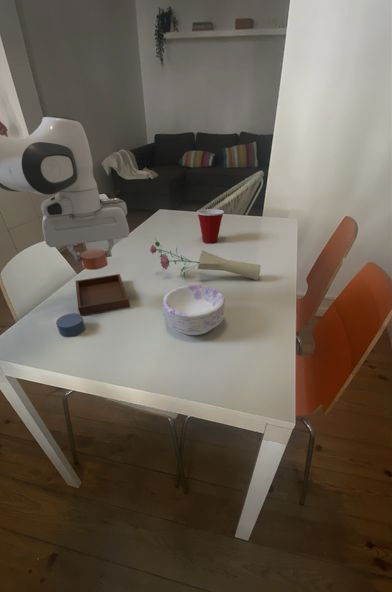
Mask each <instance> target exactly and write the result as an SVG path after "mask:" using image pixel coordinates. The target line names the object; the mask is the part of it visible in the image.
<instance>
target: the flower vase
mask: <svg viewBox="0 0 392 592" xmlns="http://www.w3.org/2000/svg"><path fill="white" fill-rule="evenodd" d="M154 240H155V242H154V243H155V245H154V244H151V246H150V248H149V252H150V253H151V255H154V254H156V252H157V251H158V253H159V254H160V255H159V260H160V262H159V263H160V264H161V267H162V268H163V269H164V270H168V268H171V267H170V262H171V260H169V258H168V255H167V253H168V254H170V256H171V258H175V259H174V260H172V262H173V263H174V264H175V265H177V262H181V263H182V262H183V263H184V264H183V265H184V266H183V267H182V269H181V270H180V274H179V275H181V274H182V273H183V278H184V279H186V274H187V272H189V271H192V270H193V268H194V267H196V266H197V270H208V271H221V272H223V271H224V272H228V273H232V274H235V275H238V276H241V277H246V278H250V279H252V280H255V281H257V280H258V279H259V276H260V274H261V268H262V267H261V264H257V263H250V262H243V261H237V260H231V259H230V260H229V259H226V258H224V257H220V256H218V255H215V254H213V253H211V252H208V251H206V250H203V249H202V250H201V252H200V254H199V261H195V260H194V261H192V260H190V259H188V258H187V257H185V256H183V255H182V254H180V256H179V255H178V252H177V251H178V247H176V248H175V252H176V254H174V253H172V249H170V250H169V251H167V250H163V248H162V247H163V246H162V245H161V243H160V242H159V241H157V238H156V237H154ZM157 247H158V248H157ZM159 247H161V249H160V248H159ZM164 252H166V253H164ZM187 263H189V264H190V263H196V265H192V266H190V269H188V264H187ZM185 265H186V267H185ZM191 267H193V268H191ZM187 269H188V270H187Z"/></svg>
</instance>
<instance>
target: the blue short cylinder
mask: <svg viewBox="0 0 392 592" xmlns="http://www.w3.org/2000/svg"><path fill="white" fill-rule="evenodd" d="M55 324H56V327H57V330H58V332H59V335H61V337H64V338H73V337H76V336H79V335H81V334H82V333H84V332H85V330H86V324H85V321H84V318H83V316H81V315H80V313H77V312H76V313H75V312H74V313H73V312H72V313H67V314H63V315H62V316H60V317H58V318H57V319H56V322H55Z"/></svg>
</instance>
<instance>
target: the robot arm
mask: <svg viewBox="0 0 392 592" xmlns="http://www.w3.org/2000/svg"><path fill="white" fill-rule="evenodd" d="M97 183H98V182H97V181H96V179H95V176H94V162H93V157H92V152H91V148H90V144H89V140H88V137H87V134H86V131H85V129H84V126H83V125H82V124H81V122H80V121H79V120H77V119H75V118H73V117H69V116H63V115H62V116H60V115H52V114H51V115H45V116H43V117H42V119H41V123H40V124H39V125H38V127H37V128H36V129H35V130H34V131H33V132H32V133H30V134H29V135H28V136H25V138H12V137H8V136H5V135H2V134H0V189H2V190H4V191H8V192H19V193H28V194H35V195H40V196H50V195H53V196H51V197H49V198H46V199H45V200H43V201H42V202H41V205H40V209H41V213H42V215H43V216H42V222H41V226H42V234H43V238H44V242H45V245H47V246H48V247H50V248H57V247H58V248H59V247H66V249H67V250H68V252H69V253H71V255H72V256H73V257H74V261H75V262H82V260H81V256H80V255H81V252H79V251H76V250H75V249H74V245H80V244H87V243H88V244H89V243H97V242H103V241H107V244H108V246H107V248H104V251H105V253H106V257H107V258H112V257H113V255H112V254H113V253H112V250H113V247H114V244H115V242H114V240H119V239H127V238H128V237H129V236H130V234H131V233H130V232H131V231H130V227H129V224H128V220H127V214H128V207H127V203H126V202H125V201H124V200H123V199H120V197H113V198H100V193H99V188H98V184H97ZM54 194H55V195H54Z"/></svg>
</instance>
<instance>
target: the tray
mask: <svg viewBox="0 0 392 592" xmlns="http://www.w3.org/2000/svg"><path fill="white" fill-rule="evenodd" d="M75 289H76V290H75V291H76V301H77V302H76V303H77V310H78V314H80V315H81V316H82V317H83V316H89V315H93V314H100V313H104V312H111V311H115V310H121V309H122V310H123V309H127V308H131V306H130V300H129V296H128V293H127V291H126V287H125V285H124V282H123V278H122V277H121V274H120V273H116V274H110V275H103V276H98V277H97V276H96V277H91V278H90V277H89V278H83V279H78V280H75Z"/></svg>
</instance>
